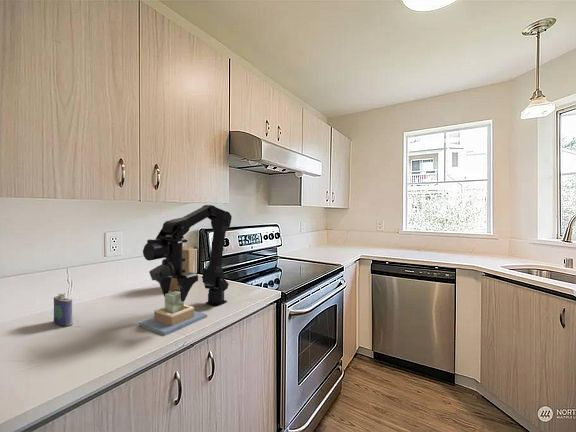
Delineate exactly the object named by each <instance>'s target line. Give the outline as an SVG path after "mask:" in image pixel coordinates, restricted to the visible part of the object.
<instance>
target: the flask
mask: <svg viewBox="0 0 576 432" xmlns="http://www.w3.org/2000/svg"><path fill="white" fill-rule="evenodd" d="M65 296H66V293H58V294H57V295H56V296H54V297H53V324H55V325H56V326H60V327H63V328H64V327H65V328H67V327H71V326H73V324H74V323H73V299H72V298H67V297H65Z"/></svg>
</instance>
